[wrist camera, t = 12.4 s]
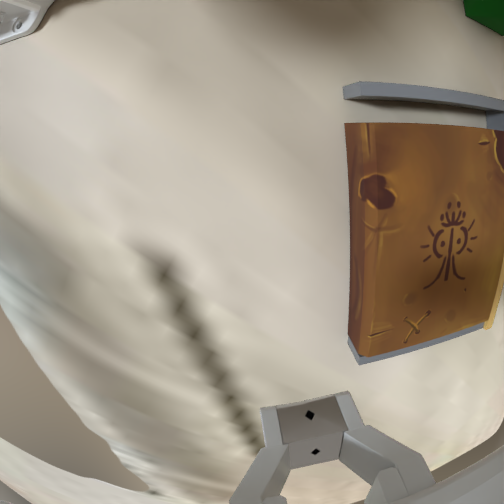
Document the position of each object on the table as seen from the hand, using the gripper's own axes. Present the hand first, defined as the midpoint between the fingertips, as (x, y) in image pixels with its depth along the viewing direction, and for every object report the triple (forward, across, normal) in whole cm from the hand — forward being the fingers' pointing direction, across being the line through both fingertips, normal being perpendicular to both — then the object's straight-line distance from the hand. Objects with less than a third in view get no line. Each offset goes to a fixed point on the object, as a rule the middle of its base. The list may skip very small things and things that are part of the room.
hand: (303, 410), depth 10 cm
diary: (+22, -19, +3) cm, 29 cm away
